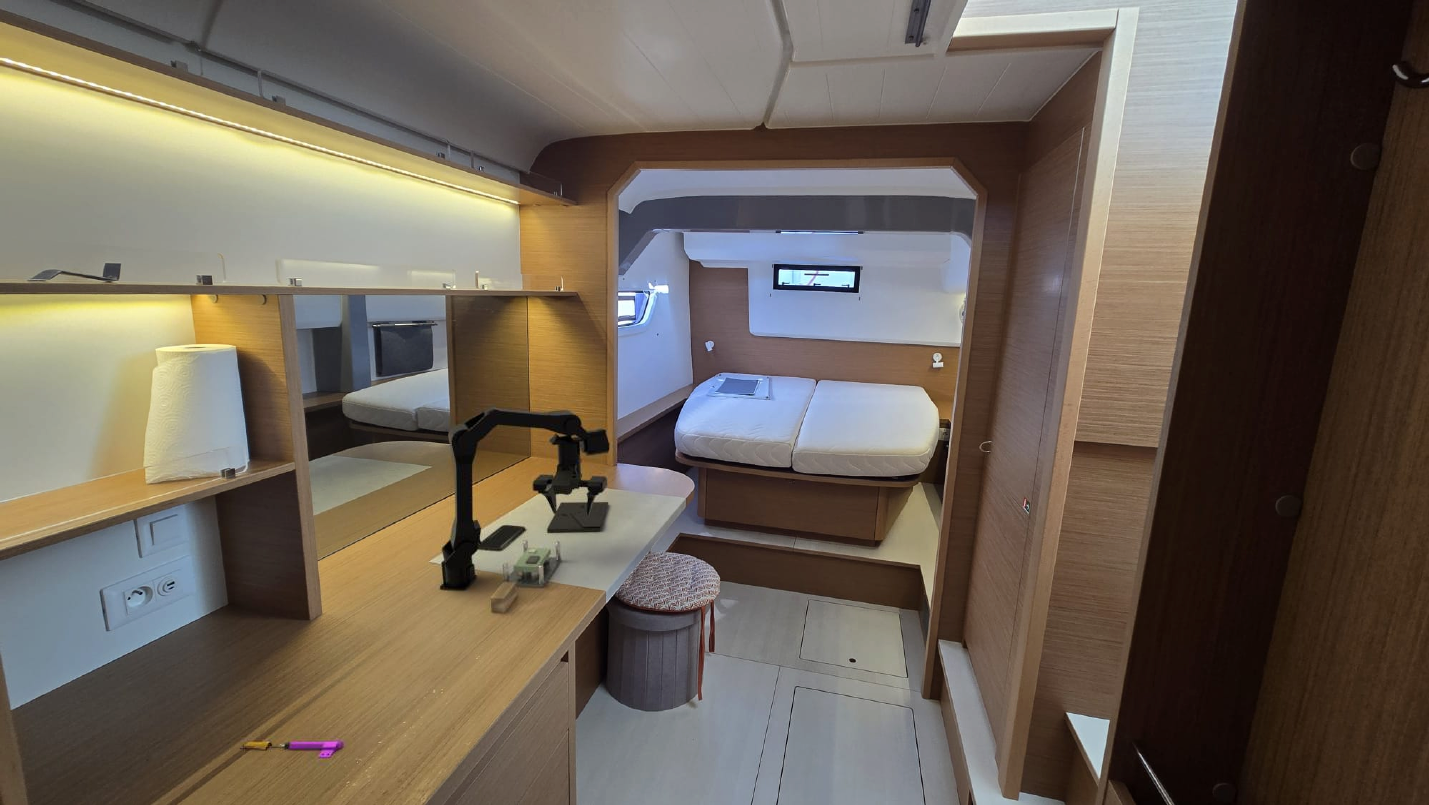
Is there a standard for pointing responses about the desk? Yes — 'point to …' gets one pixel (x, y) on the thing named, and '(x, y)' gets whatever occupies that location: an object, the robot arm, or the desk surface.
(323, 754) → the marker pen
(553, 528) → the picture frame
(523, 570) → the board
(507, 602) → the block
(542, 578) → the chassis
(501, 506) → the desk surface
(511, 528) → the phone
